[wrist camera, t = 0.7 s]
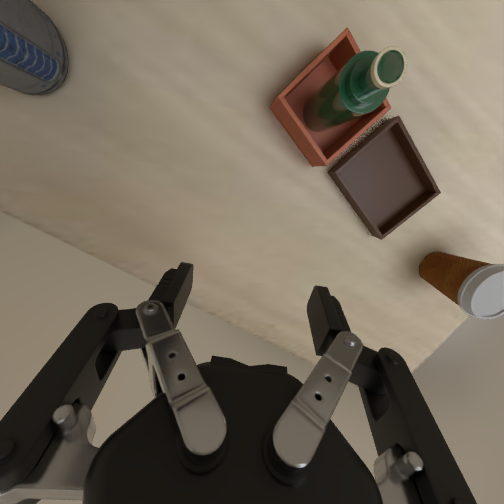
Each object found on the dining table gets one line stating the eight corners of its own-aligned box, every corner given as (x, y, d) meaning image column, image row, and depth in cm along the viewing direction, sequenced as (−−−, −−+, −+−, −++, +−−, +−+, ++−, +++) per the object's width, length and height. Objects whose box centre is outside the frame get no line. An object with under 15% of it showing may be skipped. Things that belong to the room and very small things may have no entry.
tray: (327, 172, 39) (334, 172, 37) (387, 119, 38) (399, 115, 35) (372, 235, 44) (381, 239, 42) (428, 191, 42) (441, 192, 40)
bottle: (301, 93, 35) (360, 30, 19) (338, 88, 35) (424, 23, 20) (303, 134, 37) (359, 107, 21) (338, 129, 37) (417, 99, 22)
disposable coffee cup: (436, 235, 45) (505, 256, 34) (464, 259, 48) (538, 286, 36) (401, 273, 47) (456, 305, 36) (431, 294, 50) (490, 330, 39)
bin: (269, 108, 36) (277, 96, 30) (327, 50, 34) (347, 27, 28) (312, 166, 39) (326, 165, 33) (367, 117, 37) (391, 107, 32)
